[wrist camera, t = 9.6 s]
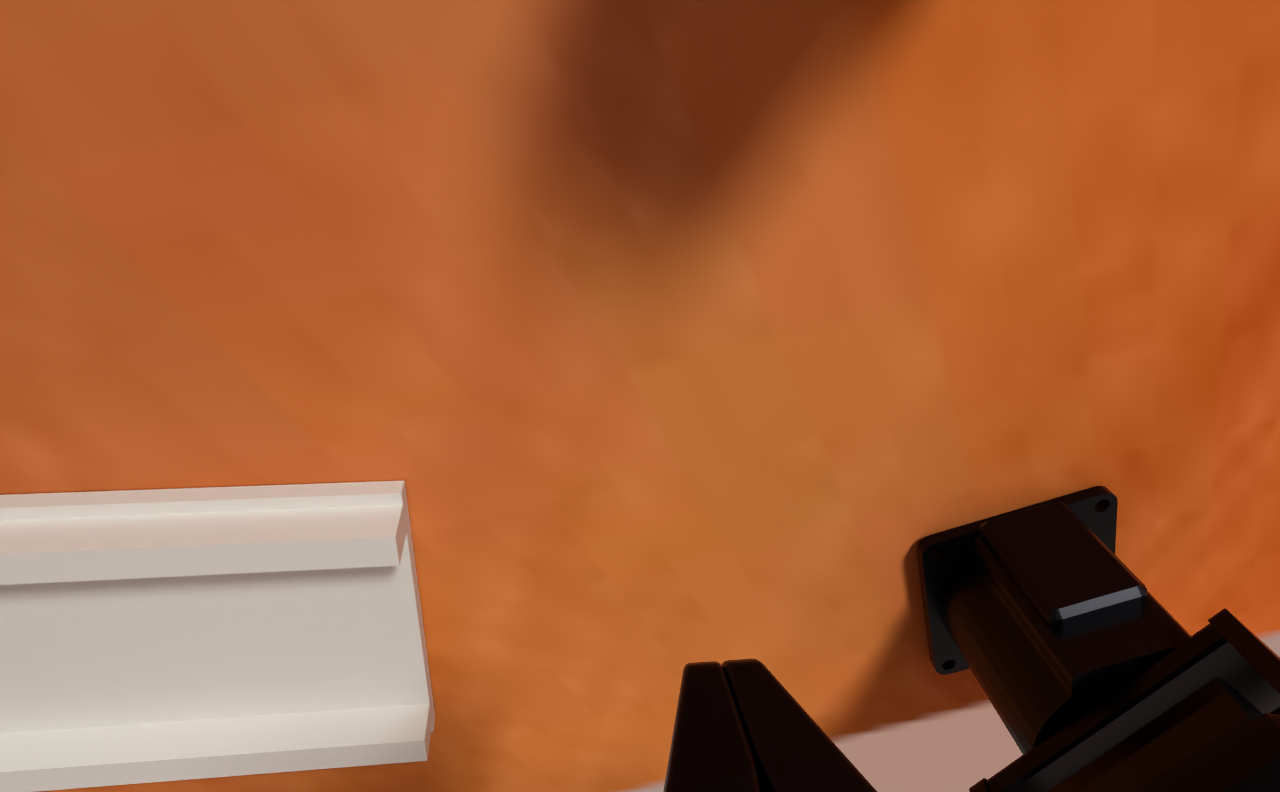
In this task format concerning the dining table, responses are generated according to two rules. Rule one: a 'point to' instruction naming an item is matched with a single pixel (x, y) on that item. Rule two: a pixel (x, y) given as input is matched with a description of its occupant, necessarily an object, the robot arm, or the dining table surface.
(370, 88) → the dining table surface
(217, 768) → the off-white chute
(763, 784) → the robot arm
